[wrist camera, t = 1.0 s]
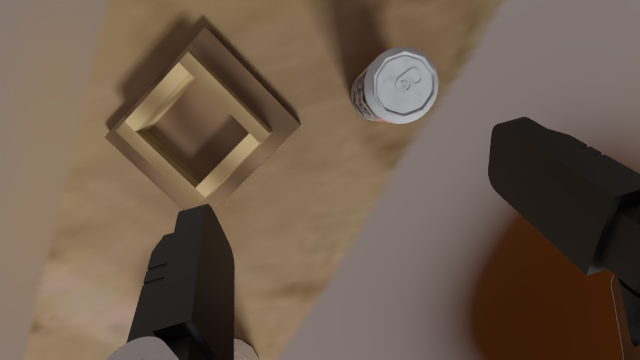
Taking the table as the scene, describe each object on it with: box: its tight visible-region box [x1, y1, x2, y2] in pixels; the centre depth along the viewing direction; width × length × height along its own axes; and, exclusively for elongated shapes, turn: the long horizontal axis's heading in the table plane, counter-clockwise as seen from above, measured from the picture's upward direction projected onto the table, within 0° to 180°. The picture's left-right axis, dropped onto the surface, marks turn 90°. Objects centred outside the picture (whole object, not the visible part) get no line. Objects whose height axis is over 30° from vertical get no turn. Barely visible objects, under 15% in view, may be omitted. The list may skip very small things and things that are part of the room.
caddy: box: [105, 27, 301, 211], centre depth 32 cm, size 14×12×4 cm
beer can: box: [351, 47, 438, 124], centre depth 28 cm, size 5×5×12 cm
